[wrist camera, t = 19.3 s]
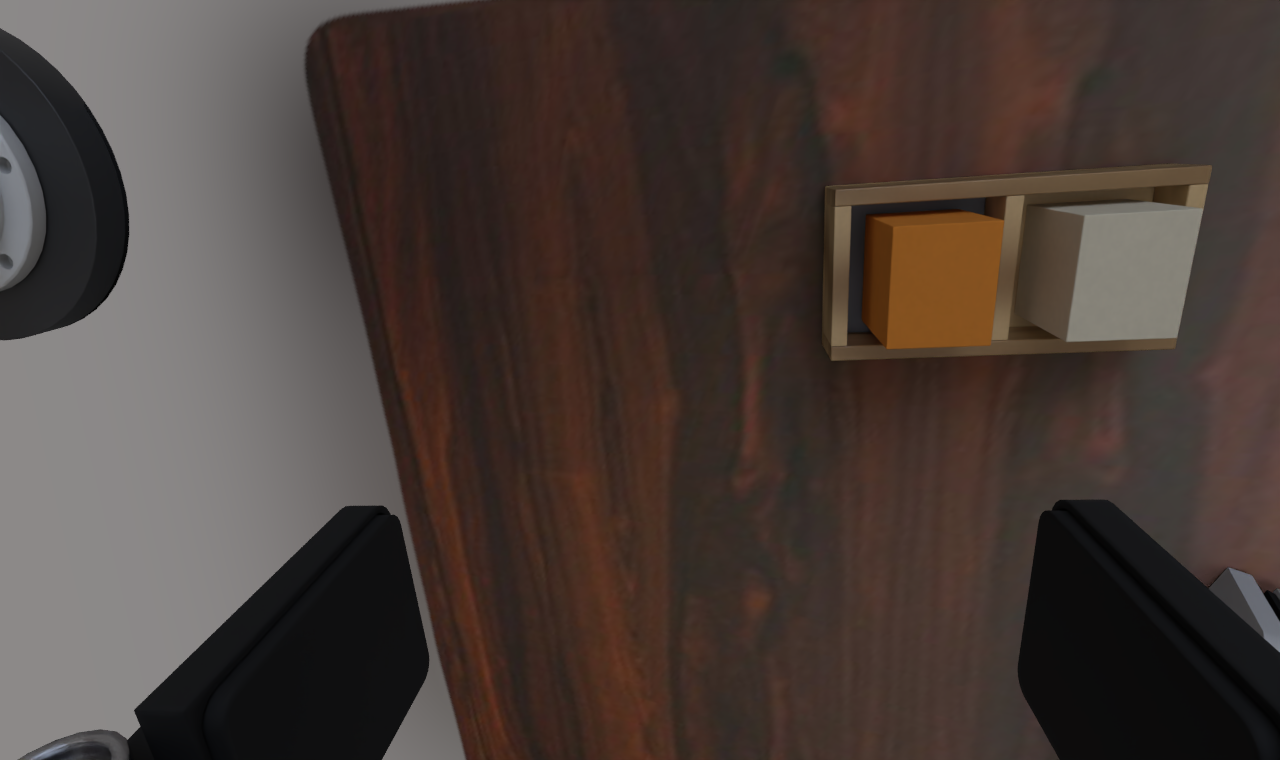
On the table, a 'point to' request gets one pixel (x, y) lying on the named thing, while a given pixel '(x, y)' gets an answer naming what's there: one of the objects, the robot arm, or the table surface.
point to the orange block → (931, 278)
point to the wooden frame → (1008, 203)
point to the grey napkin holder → (1250, 603)
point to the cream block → (1106, 268)
